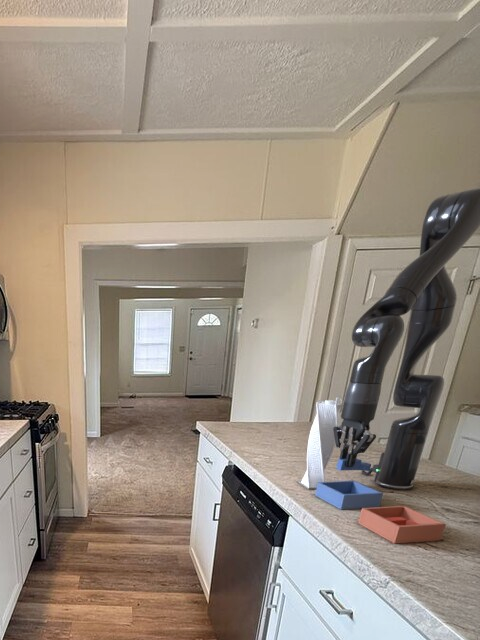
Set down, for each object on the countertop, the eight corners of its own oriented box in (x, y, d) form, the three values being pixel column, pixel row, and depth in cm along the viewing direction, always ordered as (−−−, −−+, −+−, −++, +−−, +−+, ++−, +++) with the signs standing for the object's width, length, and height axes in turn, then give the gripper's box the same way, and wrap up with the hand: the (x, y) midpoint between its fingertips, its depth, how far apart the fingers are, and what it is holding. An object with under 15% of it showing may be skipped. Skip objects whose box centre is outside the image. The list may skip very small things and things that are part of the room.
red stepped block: (384, 533, 93) (388, 522, 92) (373, 527, 96) (376, 516, 95) (419, 531, 94) (423, 520, 93) (407, 525, 97) (410, 514, 96)
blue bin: (315, 495, 119) (317, 482, 118) (350, 493, 121) (353, 480, 119) (340, 509, 109) (344, 495, 107) (379, 507, 110) (383, 493, 108)
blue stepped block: (342, 471, 108) (345, 461, 107) (333, 467, 112) (336, 458, 111) (372, 470, 110) (375, 460, 109) (363, 467, 113) (365, 457, 112)
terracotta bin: (358, 523, 100) (361, 508, 99) (399, 520, 101) (404, 505, 100) (394, 543, 90) (399, 526, 88) (440, 540, 91) (446, 523, 89)
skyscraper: (333, 490, 123) (354, 396, 112) (307, 490, 123) (325, 396, 113) (319, 482, 131) (338, 393, 120) (294, 482, 131) (311, 393, 120)
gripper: (395, 403, 98) (377, 472, 104) (355, 397, 110) (341, 459, 117) (367, 404, 97) (350, 473, 103) (329, 398, 109) (317, 460, 116)
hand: (345, 465), depth 110 cm, fingers closed on blue stepped block, 2 cm apart
